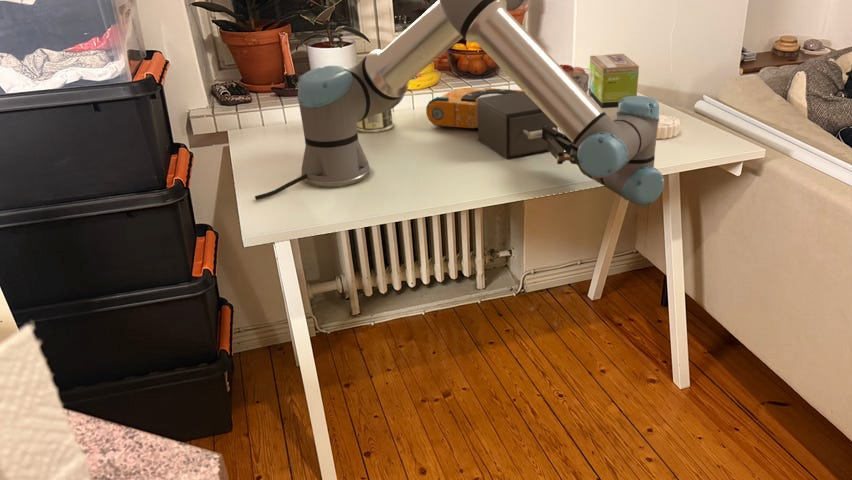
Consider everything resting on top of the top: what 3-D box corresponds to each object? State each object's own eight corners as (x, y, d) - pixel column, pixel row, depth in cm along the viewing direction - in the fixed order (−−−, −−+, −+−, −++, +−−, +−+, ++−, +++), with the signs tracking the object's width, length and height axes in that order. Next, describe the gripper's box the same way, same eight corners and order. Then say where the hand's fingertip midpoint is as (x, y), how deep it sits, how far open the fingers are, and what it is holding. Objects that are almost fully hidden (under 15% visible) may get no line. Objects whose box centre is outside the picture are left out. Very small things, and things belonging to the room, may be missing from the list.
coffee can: (382, 118, 197) (377, 68, 190) (399, 127, 190) (395, 75, 183) (348, 125, 192) (342, 73, 185) (365, 135, 185) (359, 81, 178)
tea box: (586, 106, 204) (589, 54, 196) (620, 104, 204) (624, 52, 197) (600, 121, 191) (603, 66, 183) (636, 119, 191) (640, 64, 184)
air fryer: (556, 149, 172) (557, 105, 167) (506, 158, 167) (506, 114, 162) (525, 131, 184) (525, 90, 179) (478, 139, 179) (477, 98, 174)
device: (453, 77, 203) (553, 84, 194) (454, 106, 207) (553, 113, 198) (422, 98, 185) (531, 106, 175) (424, 128, 189) (531, 138, 179)
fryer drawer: (566, 152, 167) (567, 116, 162) (519, 161, 162) (520, 124, 158) (527, 130, 182) (528, 97, 177) (484, 138, 177) (483, 103, 173)
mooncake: (688, 134, 179) (690, 121, 177) (651, 142, 175) (652, 128, 173) (658, 122, 189) (660, 109, 187) (622, 129, 184) (623, 116, 182)
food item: (573, 91, 218) (575, 59, 213) (590, 96, 212) (592, 63, 207) (538, 98, 212) (538, 65, 207) (554, 104, 206) (555, 70, 201)
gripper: (575, 187, 142) (519, 152, 161) (628, 175, 147) (568, 143, 165) (577, 151, 138) (520, 120, 157) (631, 141, 143) (569, 112, 162)
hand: (544, 132), depth 161 cm, fingers closed
